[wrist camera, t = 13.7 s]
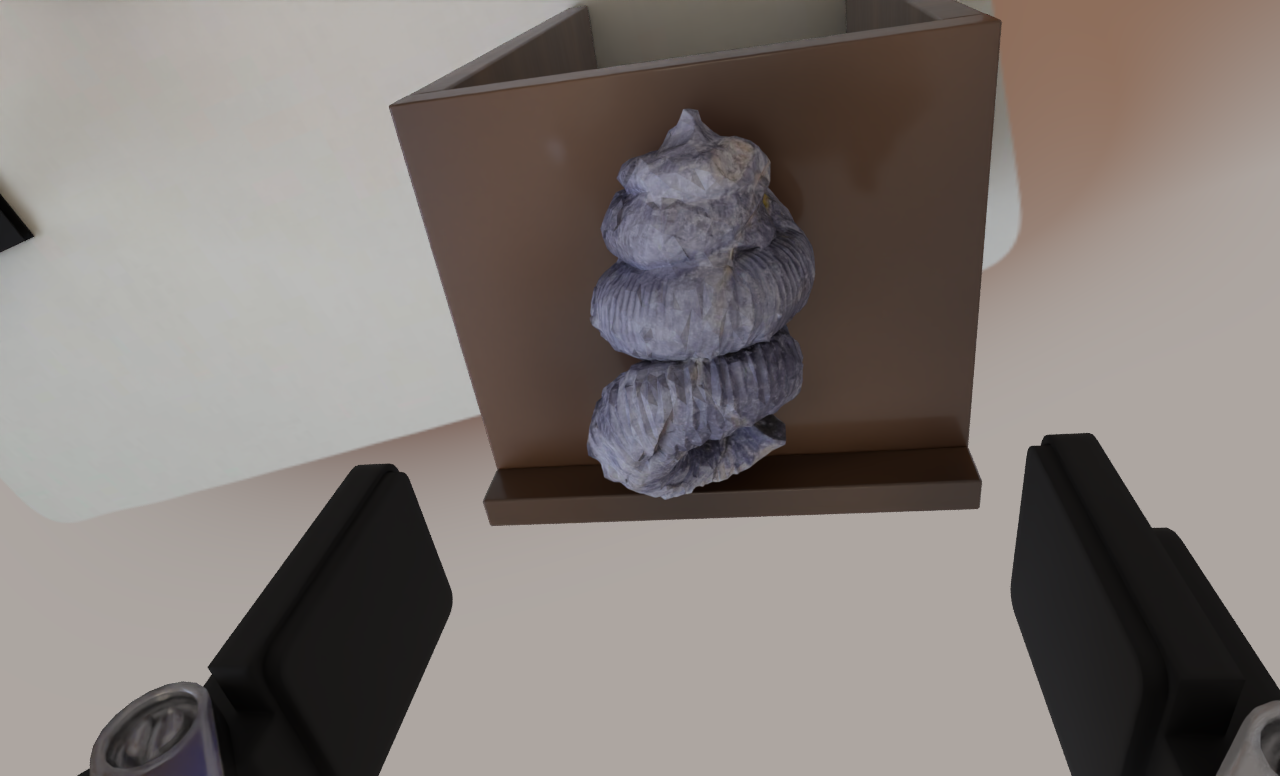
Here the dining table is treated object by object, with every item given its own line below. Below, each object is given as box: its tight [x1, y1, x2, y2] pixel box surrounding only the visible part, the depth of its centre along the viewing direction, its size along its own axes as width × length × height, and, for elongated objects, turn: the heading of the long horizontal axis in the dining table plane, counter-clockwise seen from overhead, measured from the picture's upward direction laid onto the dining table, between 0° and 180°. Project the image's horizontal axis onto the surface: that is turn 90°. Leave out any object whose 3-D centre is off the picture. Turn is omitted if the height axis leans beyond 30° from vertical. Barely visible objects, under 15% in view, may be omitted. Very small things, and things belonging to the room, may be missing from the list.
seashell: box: [587, 109, 815, 500], centre depth 18 cm, size 5×5×10 cm
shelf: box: [389, 0, 1001, 526], centre depth 29 cm, size 14×12×24 cm
